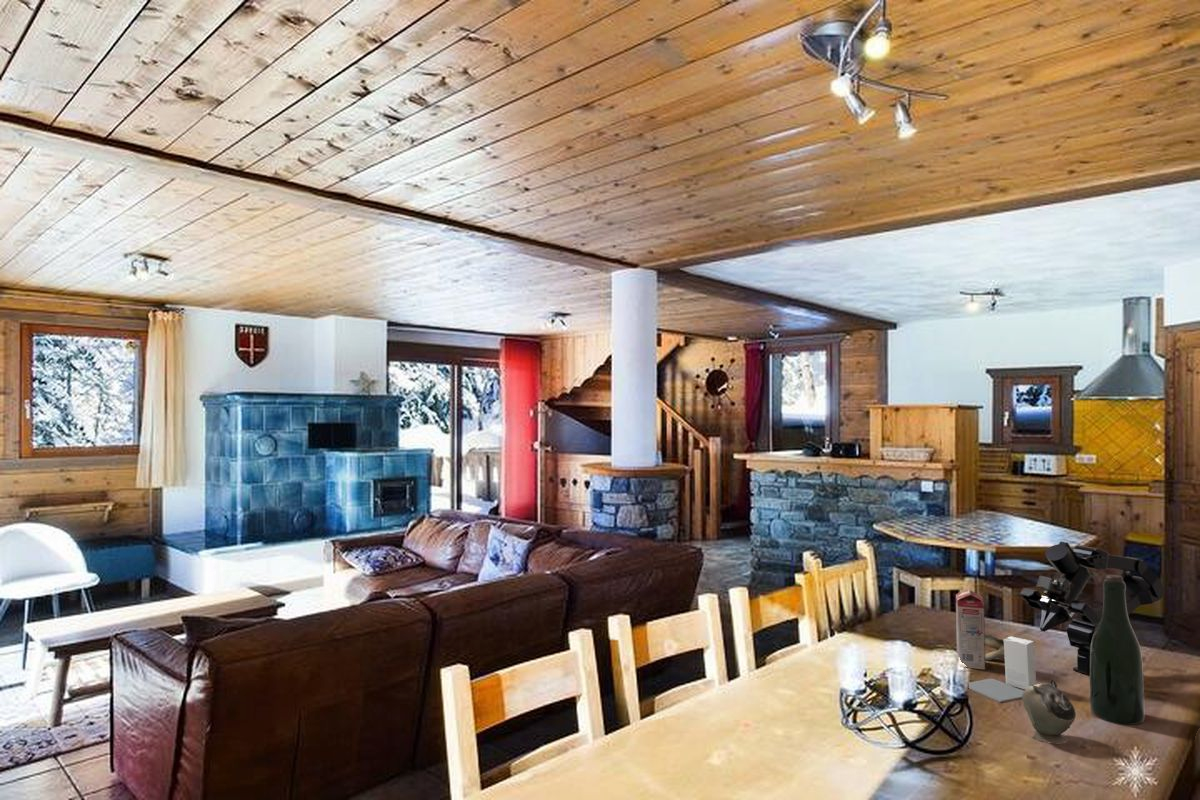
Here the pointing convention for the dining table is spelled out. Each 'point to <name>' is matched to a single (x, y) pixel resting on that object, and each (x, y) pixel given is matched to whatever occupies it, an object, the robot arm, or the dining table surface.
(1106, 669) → the beer bottle
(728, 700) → the dining table surface
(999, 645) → the eagle figurine
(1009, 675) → the skincare box
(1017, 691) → the mat
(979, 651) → the juice carton
